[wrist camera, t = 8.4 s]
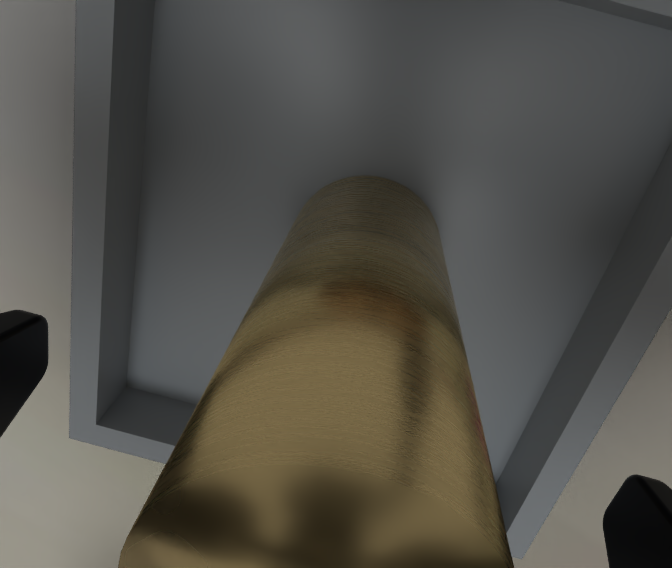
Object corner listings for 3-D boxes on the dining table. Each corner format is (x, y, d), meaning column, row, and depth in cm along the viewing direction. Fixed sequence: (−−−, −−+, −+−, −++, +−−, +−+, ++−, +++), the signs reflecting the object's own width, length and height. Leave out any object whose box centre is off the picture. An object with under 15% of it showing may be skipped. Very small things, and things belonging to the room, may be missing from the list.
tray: (762, 13, 12) (849, 8, 9) (507, 494, 18) (521, 559, 16) (141, -151, 12) (78, -196, 9) (110, 388, 18) (68, 438, 16)
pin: (461, 197, 13) (598, 533, 4) (415, 329, 15) (445, 762, 6) (307, 158, 13) (129, 415, 4) (279, 295, 15) (109, 679, 6)
